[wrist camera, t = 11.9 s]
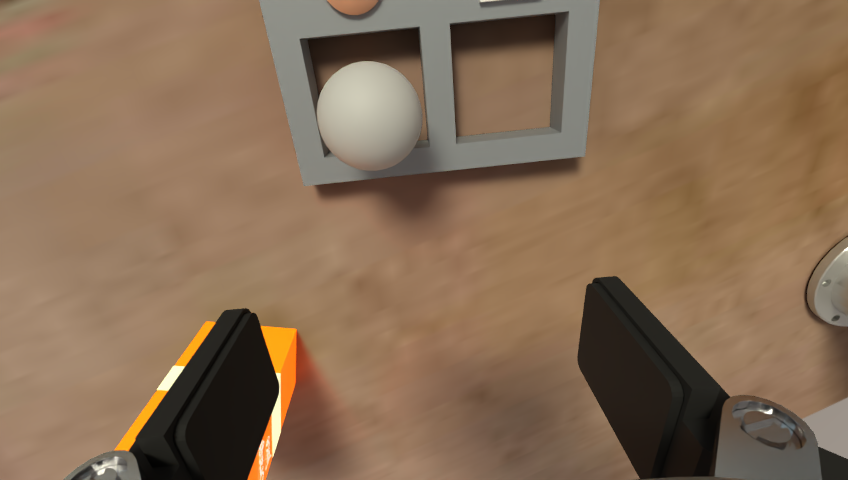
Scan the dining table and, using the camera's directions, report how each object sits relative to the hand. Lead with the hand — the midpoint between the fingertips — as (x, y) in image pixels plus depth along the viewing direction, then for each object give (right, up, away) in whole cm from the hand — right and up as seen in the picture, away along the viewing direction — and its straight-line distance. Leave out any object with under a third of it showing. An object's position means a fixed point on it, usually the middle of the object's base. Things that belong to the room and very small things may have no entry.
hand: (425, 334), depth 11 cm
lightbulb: (-4, +14, +19) cm, 24 cm away
